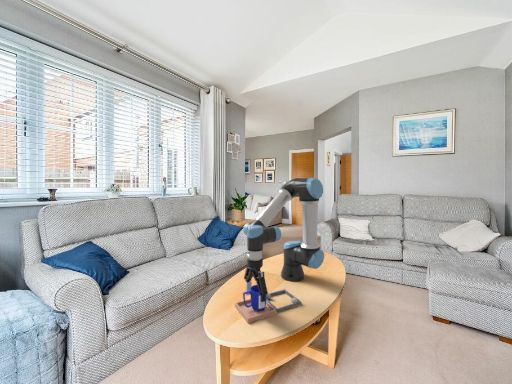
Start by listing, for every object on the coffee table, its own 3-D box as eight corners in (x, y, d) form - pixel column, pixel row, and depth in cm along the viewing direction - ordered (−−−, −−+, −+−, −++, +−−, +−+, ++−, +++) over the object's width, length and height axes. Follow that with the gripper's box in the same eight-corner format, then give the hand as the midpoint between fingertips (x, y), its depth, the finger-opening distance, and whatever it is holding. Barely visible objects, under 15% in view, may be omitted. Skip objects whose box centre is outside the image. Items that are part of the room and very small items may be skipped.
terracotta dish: (260, 299, 123) (260, 295, 123) (276, 313, 109) (276, 309, 109) (234, 306, 116) (234, 302, 116) (247, 323, 102) (247, 318, 102)
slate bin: (284, 291, 131) (284, 289, 131) (301, 304, 118) (301, 301, 118) (261, 298, 124) (261, 295, 124) (276, 312, 111) (276, 309, 111)
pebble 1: (268, 296, 125) (268, 291, 125) (271, 299, 123) (271, 293, 123) (264, 298, 124) (264, 292, 124) (267, 300, 121) (267, 295, 121)
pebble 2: (295, 301, 120) (295, 295, 120) (298, 304, 118) (298, 298, 118) (290, 302, 119) (290, 297, 119) (294, 305, 116) (294, 300, 116)
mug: (240, 307, 114) (240, 287, 114) (263, 302, 119) (263, 283, 118) (245, 316, 107) (245, 295, 106) (269, 310, 111) (269, 290, 110)
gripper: (237, 251, 120) (237, 291, 121) (260, 268, 98) (260, 316, 99) (250, 249, 124) (250, 288, 125) (275, 265, 102) (275, 311, 103)
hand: (254, 300), depth 112 cm, fingers open, 13 cm apart
